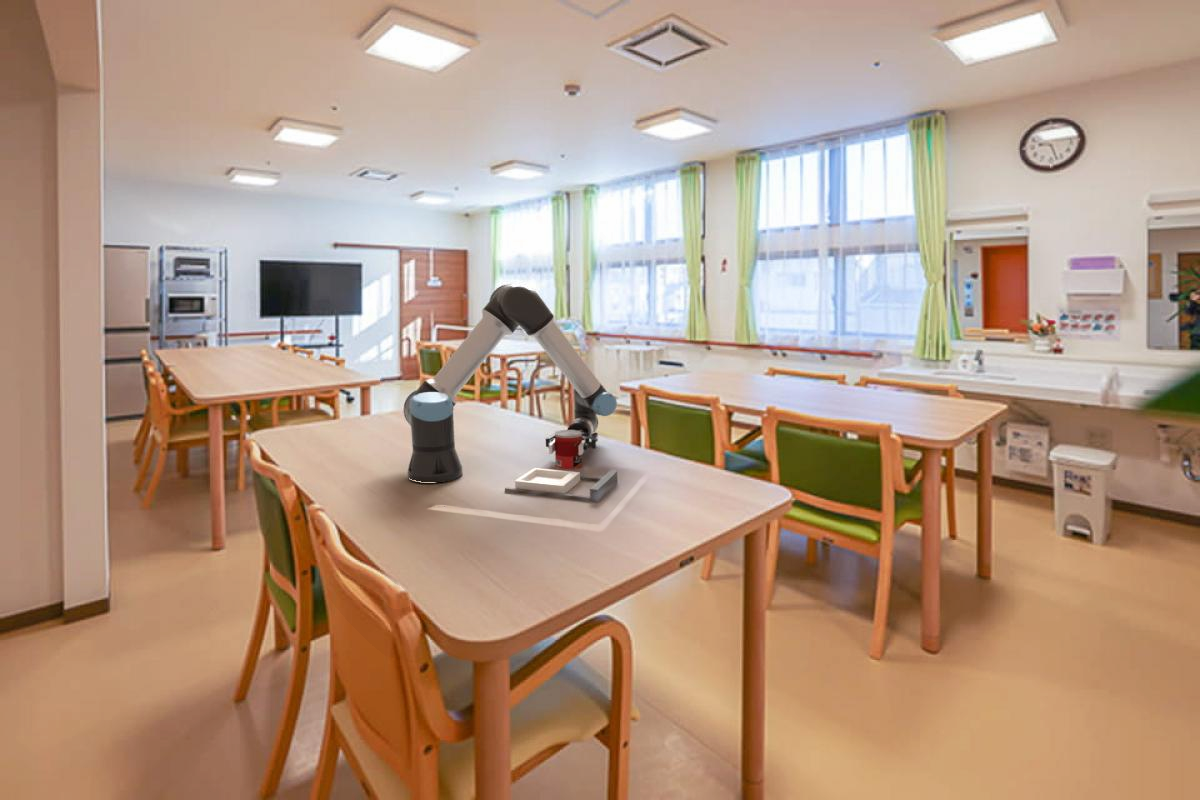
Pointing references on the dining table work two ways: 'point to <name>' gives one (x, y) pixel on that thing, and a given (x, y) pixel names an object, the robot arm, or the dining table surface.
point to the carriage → (548, 480)
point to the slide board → (595, 495)
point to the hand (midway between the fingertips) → (565, 450)
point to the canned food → (568, 449)
